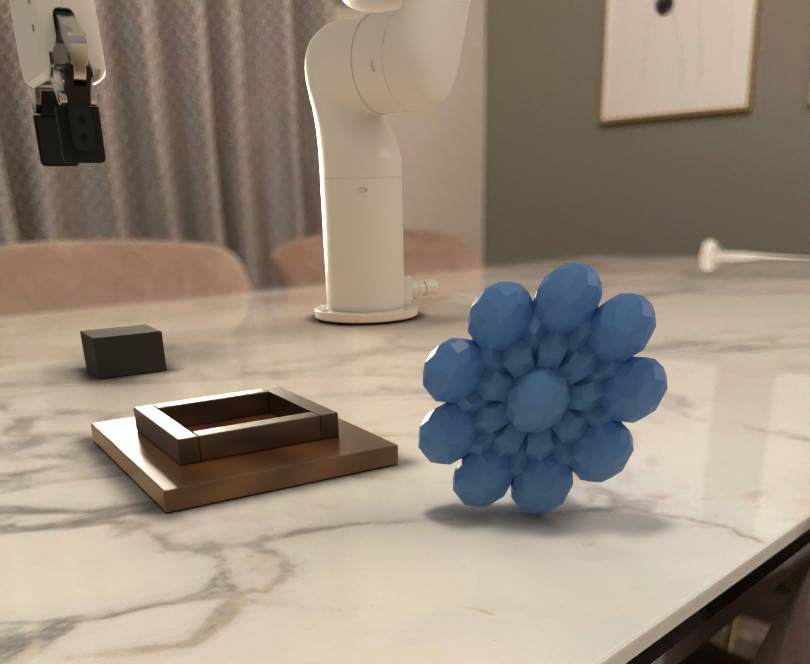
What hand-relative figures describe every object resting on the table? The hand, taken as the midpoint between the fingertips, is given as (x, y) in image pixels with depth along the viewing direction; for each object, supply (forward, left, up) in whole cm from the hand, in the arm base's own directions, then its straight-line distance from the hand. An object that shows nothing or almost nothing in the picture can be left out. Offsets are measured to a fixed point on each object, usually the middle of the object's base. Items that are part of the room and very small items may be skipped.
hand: (72, 164), depth 71 cm
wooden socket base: (-1, +31, -17) cm, 36 cm away
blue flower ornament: (-10, +49, -17) cm, 53 cm away
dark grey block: (-2, +1, -17) cm, 17 cm away
